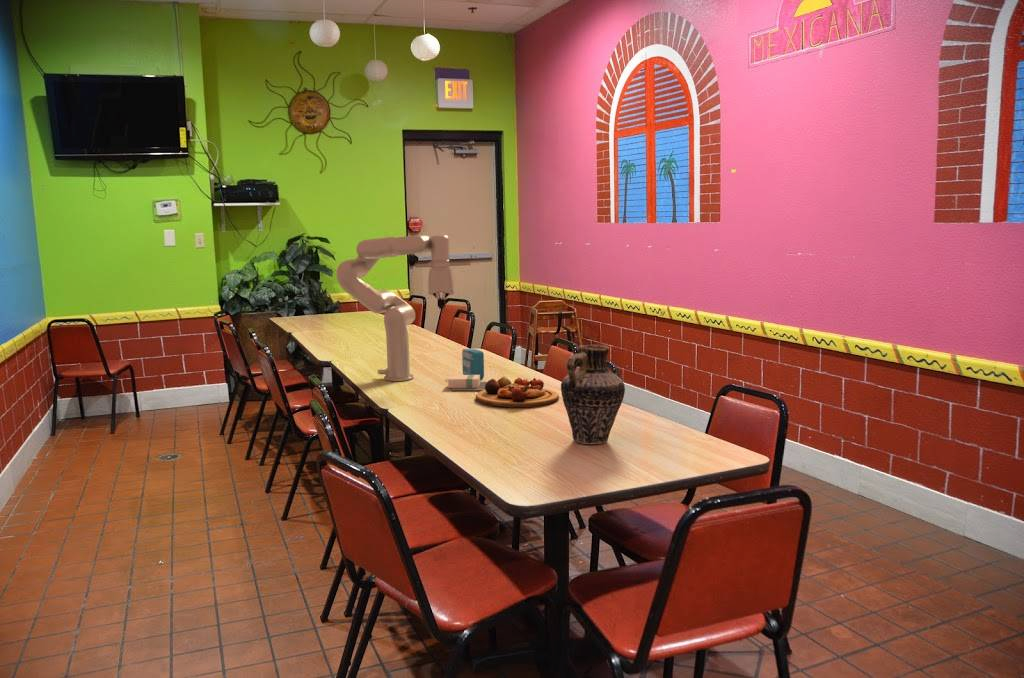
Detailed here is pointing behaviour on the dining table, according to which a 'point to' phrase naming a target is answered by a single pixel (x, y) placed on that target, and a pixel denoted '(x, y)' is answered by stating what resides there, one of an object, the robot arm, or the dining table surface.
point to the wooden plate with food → (516, 393)
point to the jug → (591, 395)
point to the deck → (464, 381)
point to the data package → (473, 362)
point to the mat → (480, 388)
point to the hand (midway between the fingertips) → (441, 308)
